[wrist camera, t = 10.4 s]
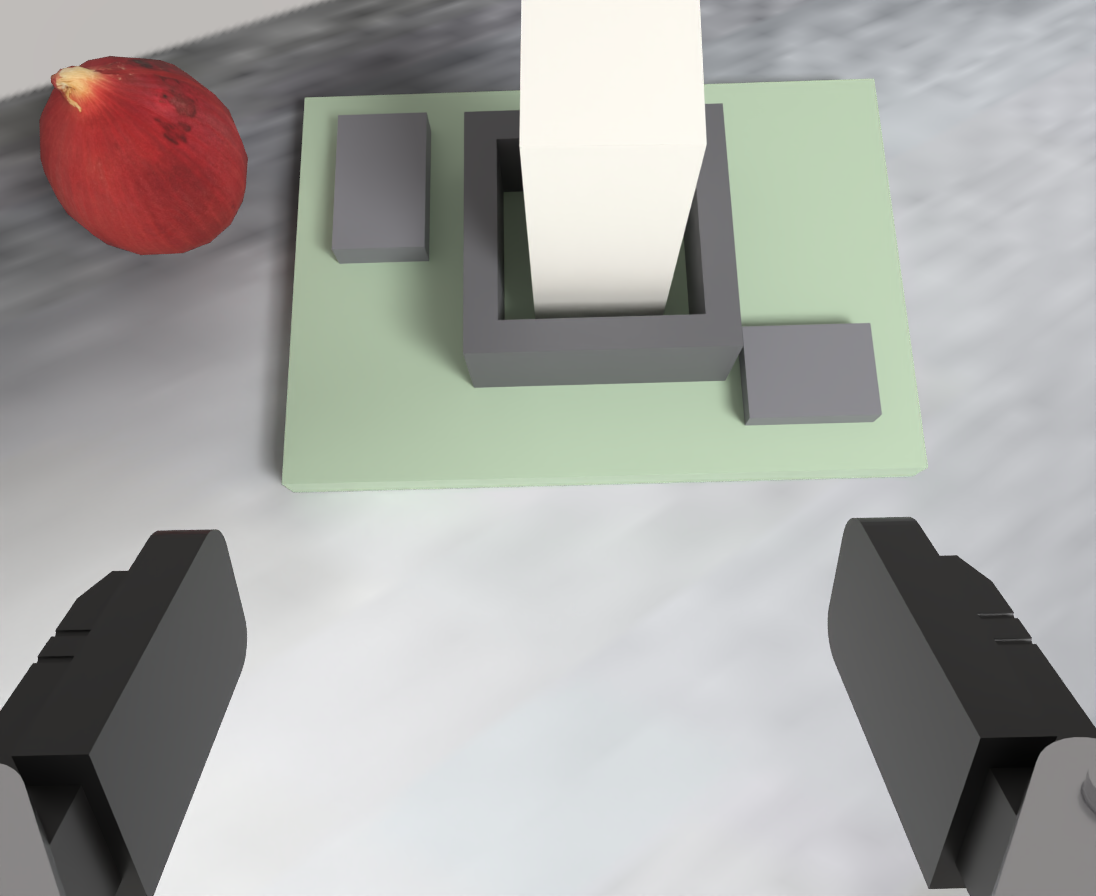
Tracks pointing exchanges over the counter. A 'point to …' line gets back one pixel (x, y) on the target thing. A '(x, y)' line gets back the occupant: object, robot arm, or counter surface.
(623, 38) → the plug
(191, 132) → the onion
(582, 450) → the board
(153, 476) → the counter surface
